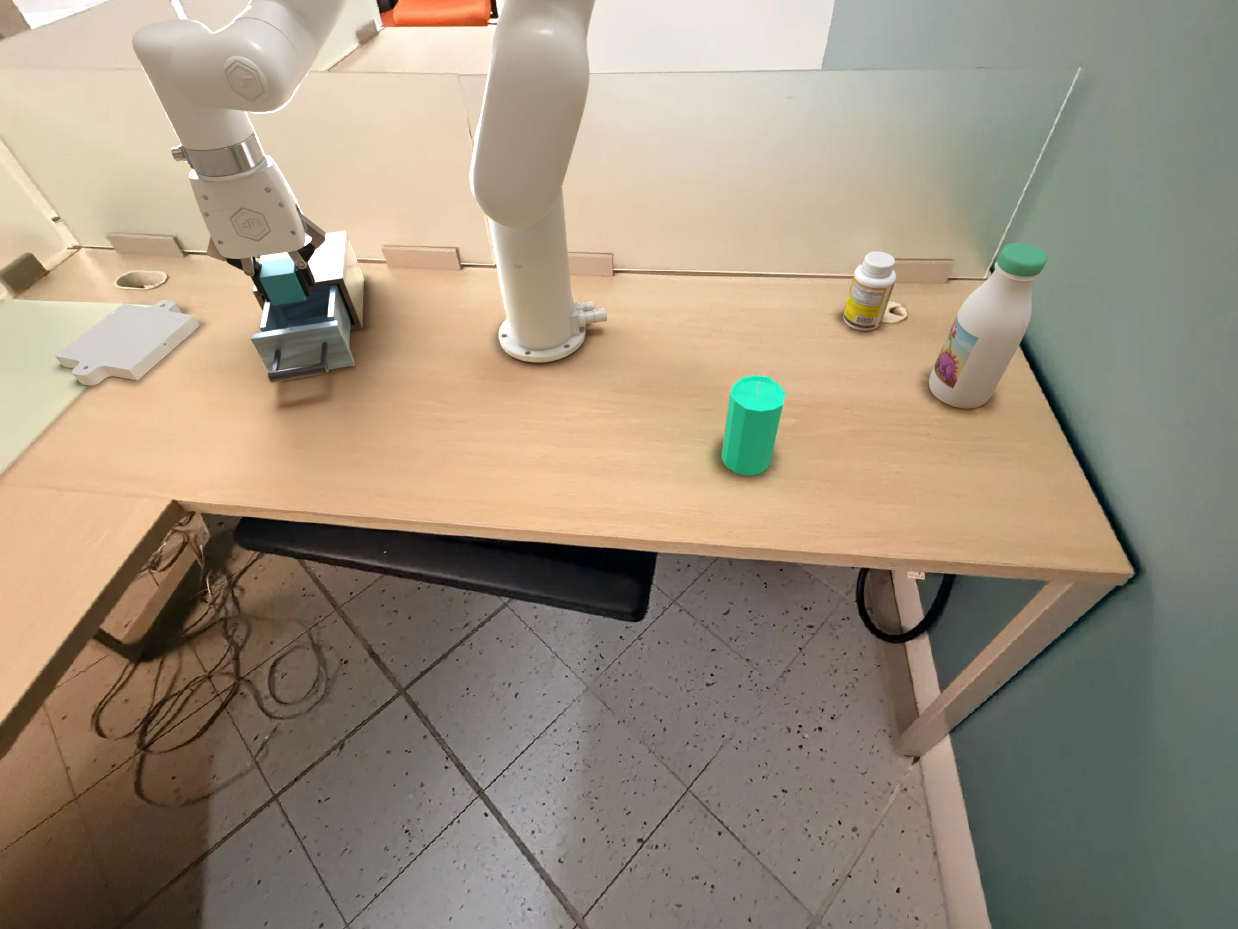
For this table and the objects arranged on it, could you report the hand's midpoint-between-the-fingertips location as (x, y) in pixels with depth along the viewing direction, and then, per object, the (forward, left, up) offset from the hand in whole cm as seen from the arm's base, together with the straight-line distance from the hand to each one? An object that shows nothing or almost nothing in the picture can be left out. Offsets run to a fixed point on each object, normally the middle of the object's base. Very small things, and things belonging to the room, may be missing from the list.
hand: (290, 292), depth 87 cm
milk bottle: (-83, +31, -10) cm, 89 cm away
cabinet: (0, -11, -10) cm, 15 cm away
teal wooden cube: (0, 0, 0) cm, 0 cm away
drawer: (0, +2, -9) cm, 10 cm away
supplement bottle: (-78, +14, -10) cm, 80 cm away
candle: (-52, +35, -10) cm, 64 cm away
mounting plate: (+27, -9, -10) cm, 30 cm away
